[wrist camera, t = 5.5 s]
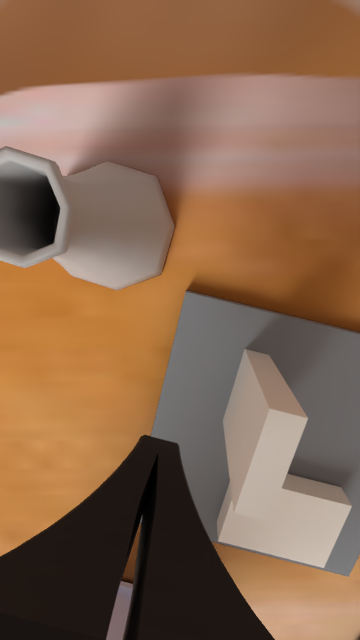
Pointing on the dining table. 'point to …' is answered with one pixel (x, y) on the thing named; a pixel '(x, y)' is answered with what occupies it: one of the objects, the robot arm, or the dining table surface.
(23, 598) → the robot arm
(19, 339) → the dining table surface
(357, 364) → the slate mat
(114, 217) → the flask
